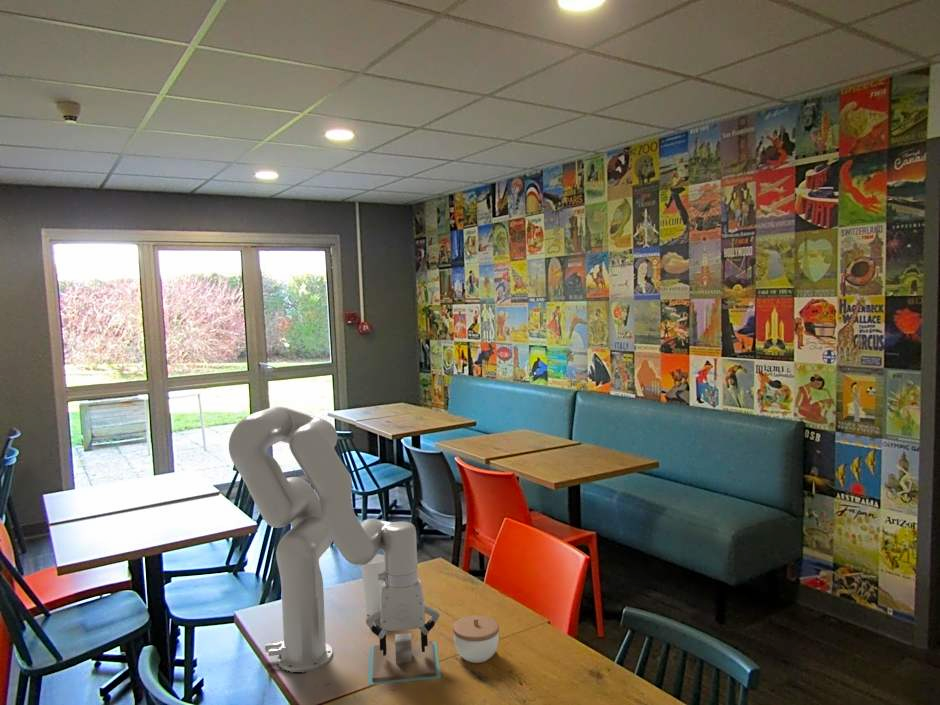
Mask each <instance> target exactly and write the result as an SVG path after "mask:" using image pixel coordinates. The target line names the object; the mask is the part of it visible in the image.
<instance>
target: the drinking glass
mask: <svg viewBox="0 0 940 705" xmlns="http://www.w3.org/2000/svg"><path fill="white" fill-rule="evenodd" d="M383 572H385V571H384V554H378V553H377V554H376V556H375V557H374V558H373V559H372V560H371V561H370V562H369V563H367V564H365V565H361V574H362V575H361V576H362V582H363V583H362V584H363V592H364V600H365V612H366V614H367V615H368V617H369V616H370V615H371V614H373V613H374V612H376V611H377V610H378V609H380V596H381V588H382V584H383V582H384V580H378V574H382V573H383Z"/></svg>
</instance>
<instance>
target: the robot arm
mask: <svg viewBox="0 0 940 705" xmlns="http://www.w3.org/2000/svg"><path fill="white" fill-rule="evenodd" d="M279 442H283V443H286V444H288V446H289V450H290V452H291V453H292V456H293V458H294V459H295V461H296V462H297V464H298V465H299V467H300V469H301V470H302V473H303V474H304V475H305V477H306V479H307V480H308V481H309V482H308V481H306V480H305V479H303V478H302V477H297V476H290V477H286V476H285V474H284V472H283V470H282V468H281V466H280V465H279V462H278V461H277V460H276V459H275V457H273V456H272V455H271V454H270V453H269V452H268V449H269V447H271V446H273V445H276V444H278V443H279ZM337 443H338V432H337V429H336V427H334V425H333V424H332V423H330V422H329V421H327V420H326V419H323V418H320V417H317V416H315V415H311V414H308V413H304V412H301V411H298V410H295V409H291V408H288V407H285V406H284V407H283V406H273V407H272V406H271V407H269V408H265V409H263V410H260V411H256V412H254V413H251V414H248V415H247V416H246V417H244V418H243V419H241V420H240V421H239V422H238V423H237V424H236V425H235V427H234V428H233V430H232V431H231V434H230V437H229V442H228V452H229V456H230V459H231V461H232V463H233V465H234V467H235V469H236V470H237V471H238V473H239V475H240V476H241V478H242V480H243V481H244V484H245V486H246V487H247V488H246V489H247V490H248V492H249V494H250V497H251V498H252V500H253V502H254V504H255V506H256V507H257V510H258V511H259V513H260V515H261V517H262V518H263V520H264V522H265V523H266V524H267V525H268V526H270V527H271V528H275V529H276V528H277V529H279V528H284V527H286V526H288V525H289V524H290V526H291V528H290V529H289V530H288V531H287V532H286V533H285V534H283V536H282V537H281V539H280V540H279V541H278V544H277V548H276V551H275V552H276V556H275V557H276V563H277V568H278V572H279V577H280V578H279V579H280V587H281V588H280V590H281V604H282V606H281V608H282V629H283V632H282V633H283V640H279V642H268V643H267V642H266V643H265V645H264V652H265V653H268V656H269V657H274V656H277V665H278V664H279V665H278V667H279V666H280V667H281V668H282V670H283V669H284V670H283V671H285V670H287V671H286V672H288V671H290V672H289V673H293V672H302V673H307V672H309V671H313V670H316V669H318V668H321V667H323V666H325V665H326V664H327V663H329V661H331V660H332V658H333V655H334V653H333V652H334V651H333V650H334V649H333V647H332V646H331V645H330V644H329V643H326V621H325V620H326V618H325V616H326V615H325V599H324V597H325V596H324V582H323V581H324V580H323V574H322V571H321V567H320V558H321V557H322V556H323V555H324V553H326V552H327V550H328V549H329V548H330V547H331V545H332V543H334V545H335V547H336V548H337V550H338V551H339V553H340V554H341V556H342V557H343V558H344V559H345V560H346V561H347V562H348V563H350V564H352V565H353V566H357V567H358V566H361V567H362V565H365V564H367V563H369V562H370V561H371V560H372V559H373V558H374V557H375V556H376V554H378V553H380V552H383V555H384V571H385V572H383V573H382V574H378V580H384V582H383V584H382V588H381V596H380V609H378V610H377V611H376V612H374V613H373V614H371V615H370V616H369V615H368V616H367V617H366V618H365V624H366V625H367V626H368V627H369V629H370V631H371V632H372V633H373V634H375V635H376V636H377V637H378V639H379V645H380V650H383V656H385V655H386V645H387V632H396V631H405V630H416V629H419V630H420V642H421V648H422V652H425V646H428V642H427V641H428V635H429V632H430V631H431V630H432V629H433V628H434V627H435V625H436V623H437V621H439V620H438V619H439V618H440V611H438V610H435V609H433V607H430V606H429V605H426V604H425V599H424V598H425V596H424V595H425V594H424V590H423V585H422V582H421V580H420V579H419V578H418V576H419V575H418V550H417V530H416V526H415V525H414V524H413V523H412V522H409V521H402V520H401V521H394V522H392V521H387V520H383V519H377V518H368V519H364V520H362V521H360V520H359V519H358V517H357V515H356V513H355V511H354V507H353V503H352V488H353V487H352V486H353V482H352V475H351V474H350V472H349V471H348V469H347V467H346V466H345V464H344V463H343V461H342V459H341V458H340V456H339V455H338V453H337V451H336V449H335V447H336V446H337ZM426 615H428V616H430V619H429V620H428V621H427V622H426ZM378 619H379V620H380V621H379V622H380V626H379V625H378V624H376V623H375V621H376V620H378ZM280 667H279V668H280ZM281 668H280V669H281Z"/></svg>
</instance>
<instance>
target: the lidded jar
mask: <svg viewBox="0 0 940 705" xmlns="http://www.w3.org/2000/svg"><path fill="white" fill-rule="evenodd" d="M452 628H453V629H452V631H453V641H454V647H455V649H456V651H457V653H458V654H459V656H460V657H461V658H462V659H463V660H465V661H466V662H469V663H471V664H472V663H473V664H479V663H481V664H482V663H484V662H486V661H488V660H490V659H491V658H492V657H493V656H494V655H495V652H496V651H497V649H498V645H499V637H500V634H499V633H500V632H499V631H500V625H499V622H498V621H497V620H496V619H495V618H494V617H493V618H492V617H490V616H486V615H480V614H476V615H475V614H474V615H472V614H471V615H468V616H463V617H461V618H459V619H457V620H456V621H455V622H454V624H453V625H452Z"/></svg>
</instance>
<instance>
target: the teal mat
mask: <svg viewBox="0 0 940 705" xmlns="http://www.w3.org/2000/svg"><path fill="white" fill-rule="evenodd" d="M432 643H433V651H434V660H435V668H436V676H430V677H419V678H408V679H397V680H386V681H375V682H372V673H373V655H374V646H370V647H369V660H368V674H367V686H369V685H371V686H372V685H381V684H392V683H403V682H404V683H405V682H414V681H425V680H436V679H437V680H438V679H441V678H442V675H441V668H440V661H439V652H438V645H437V641H432Z"/></svg>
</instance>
